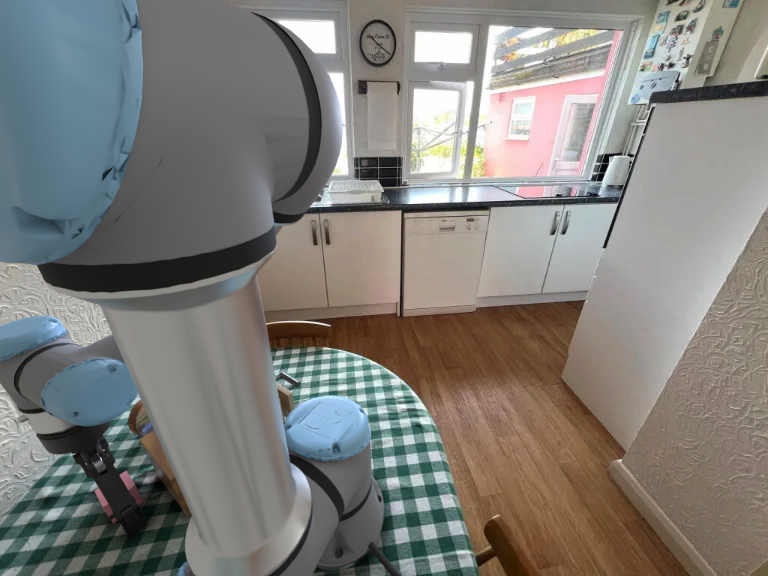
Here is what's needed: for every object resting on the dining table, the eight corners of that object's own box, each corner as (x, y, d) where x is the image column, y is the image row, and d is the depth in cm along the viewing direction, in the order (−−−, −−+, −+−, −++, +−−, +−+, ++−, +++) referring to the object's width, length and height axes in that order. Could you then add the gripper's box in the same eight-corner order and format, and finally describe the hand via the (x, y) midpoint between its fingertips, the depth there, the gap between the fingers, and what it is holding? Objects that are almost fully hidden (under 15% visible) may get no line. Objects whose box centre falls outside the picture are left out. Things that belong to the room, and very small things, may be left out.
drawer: (280, 386, 79) (275, 362, 76) (311, 407, 73) (307, 381, 70) (211, 435, 67) (201, 407, 63) (241, 465, 60) (232, 436, 57)
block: (144, 501, 55) (135, 485, 53) (113, 523, 52) (102, 507, 50) (134, 486, 58) (126, 470, 56) (104, 507, 55) (94, 491, 53)
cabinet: (230, 423, 70) (220, 390, 66) (264, 453, 64) (254, 418, 59) (157, 474, 60) (139, 439, 56) (187, 517, 53) (170, 480, 49)
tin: (146, 445, 66) (131, 416, 62) (133, 443, 66) (118, 414, 62) (198, 394, 79) (188, 367, 75) (187, 392, 79) (177, 366, 76)
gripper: (18, 393, 50) (76, 478, 59) (55, 486, 36) (122, 577, 45) (79, 368, 55) (123, 449, 64) (131, 441, 42) (177, 530, 51)
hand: (123, 502), depth 55 cm, fingers open, 13 cm apart
